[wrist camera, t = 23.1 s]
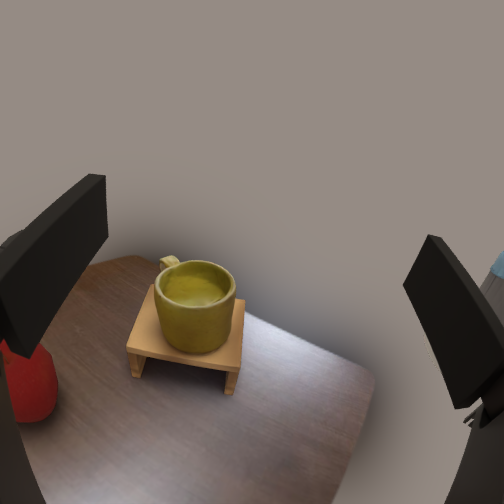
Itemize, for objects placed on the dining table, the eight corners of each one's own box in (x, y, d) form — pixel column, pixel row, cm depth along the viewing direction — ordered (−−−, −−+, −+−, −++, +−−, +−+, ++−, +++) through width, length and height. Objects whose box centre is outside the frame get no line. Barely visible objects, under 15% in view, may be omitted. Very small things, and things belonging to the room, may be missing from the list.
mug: (261, 339, 37) (243, 274, 32) (185, 378, 34) (150, 319, 29) (221, 290, 47) (202, 232, 41) (159, 319, 44) (132, 264, 38)
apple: (31, 455, 24) (-13, 413, 18) (-9, 399, 27) (-48, 346, 21) (86, 406, 32) (61, 354, 26) (42, 359, 36) (16, 301, 29)
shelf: (238, 331, 49) (245, 300, 45) (232, 395, 39) (240, 367, 35) (152, 316, 48) (151, 283, 44) (132, 376, 38) (125, 346, 34)
